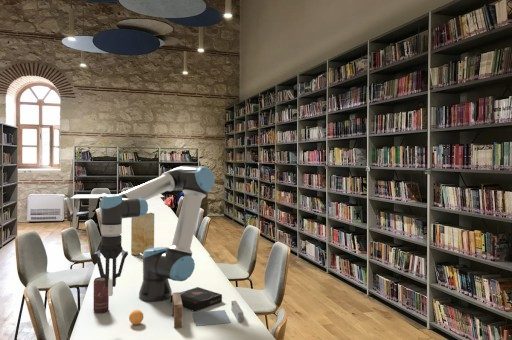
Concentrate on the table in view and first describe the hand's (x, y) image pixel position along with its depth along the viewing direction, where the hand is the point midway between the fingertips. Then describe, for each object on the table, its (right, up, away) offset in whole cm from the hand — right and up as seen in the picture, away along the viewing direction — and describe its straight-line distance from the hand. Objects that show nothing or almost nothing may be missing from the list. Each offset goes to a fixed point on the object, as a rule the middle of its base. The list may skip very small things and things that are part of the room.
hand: (110, 294), depth 162 cm
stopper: (+49, -13, +13) cm, 52 cm away
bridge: (+25, -13, +7) cm, 29 cm away
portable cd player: (+29, -13, +29) cm, 43 cm away
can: (-10, -12, +17) cm, 23 cm away
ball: (+9, -10, +3) cm, 14 cm away
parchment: (-18, -9, +112) cm, 113 cm away
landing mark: (+38, -13, +11) cm, 42 cm away
